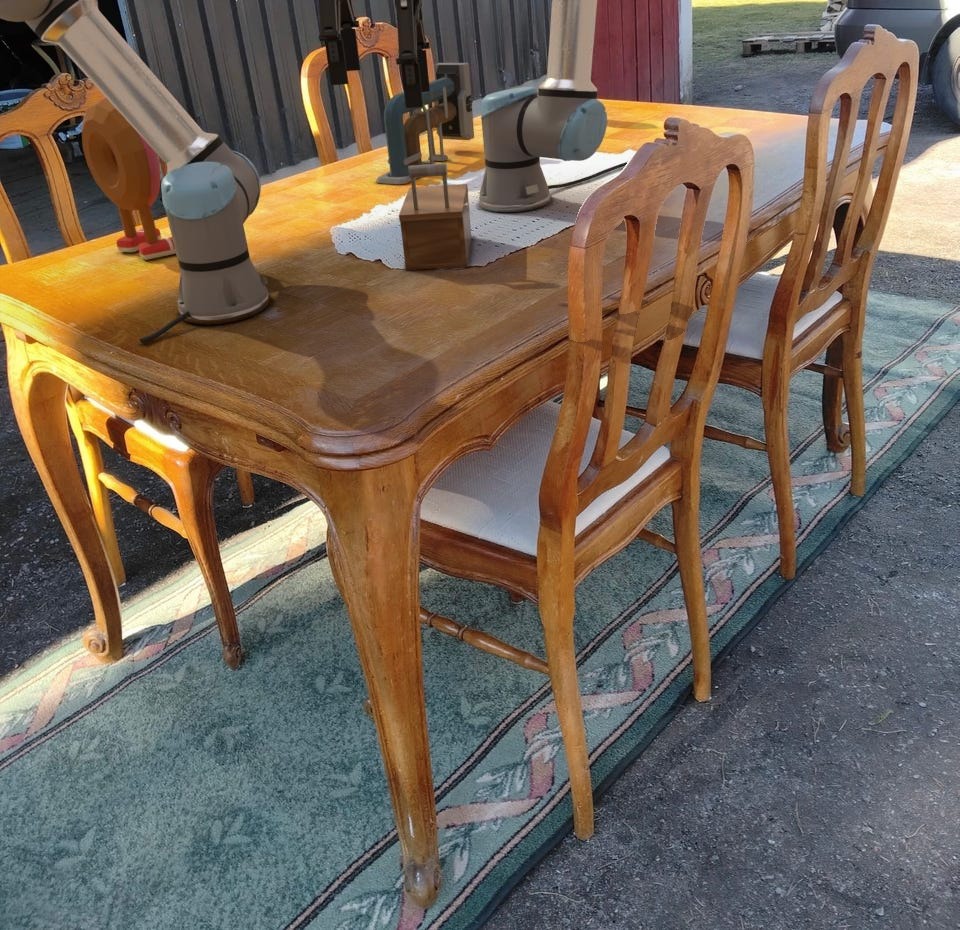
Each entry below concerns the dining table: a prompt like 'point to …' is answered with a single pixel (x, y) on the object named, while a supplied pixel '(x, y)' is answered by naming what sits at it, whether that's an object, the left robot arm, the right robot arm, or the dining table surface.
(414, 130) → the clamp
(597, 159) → the dining table surface
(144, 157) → the toy
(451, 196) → the lid
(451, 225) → the chest
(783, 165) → the dining table surface
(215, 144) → the left robot arm
